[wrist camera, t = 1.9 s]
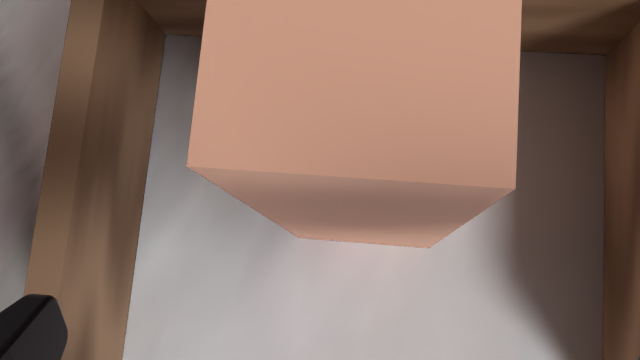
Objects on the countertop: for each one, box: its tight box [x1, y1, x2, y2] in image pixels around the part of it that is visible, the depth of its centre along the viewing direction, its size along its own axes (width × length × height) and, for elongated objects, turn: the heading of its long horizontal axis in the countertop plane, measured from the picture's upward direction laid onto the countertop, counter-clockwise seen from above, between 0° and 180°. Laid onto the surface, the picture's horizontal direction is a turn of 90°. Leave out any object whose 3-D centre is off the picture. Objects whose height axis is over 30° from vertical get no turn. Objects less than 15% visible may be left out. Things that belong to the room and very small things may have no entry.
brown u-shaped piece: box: [23, 0, 640, 360], centre depth 19 cm, size 13×18×5 cm
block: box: [187, 0, 522, 248], centre depth 15 cm, size 4×4×13 cm
